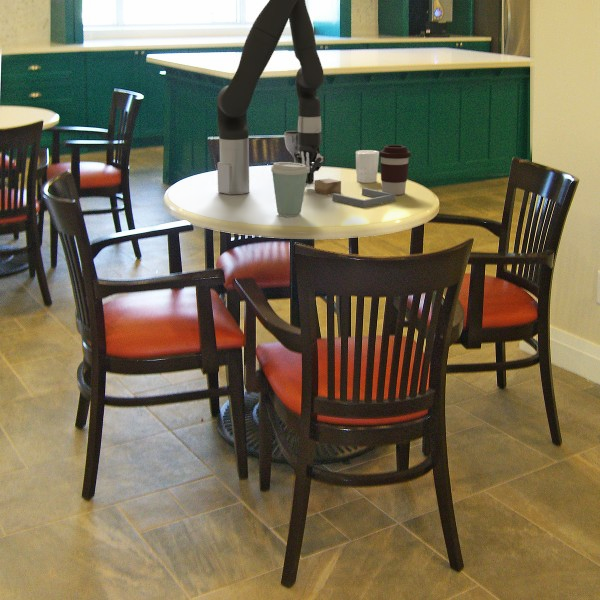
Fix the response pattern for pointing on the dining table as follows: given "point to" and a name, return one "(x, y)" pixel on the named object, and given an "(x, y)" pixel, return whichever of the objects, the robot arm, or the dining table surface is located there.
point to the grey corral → (380, 198)
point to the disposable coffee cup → (289, 187)
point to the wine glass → (292, 142)
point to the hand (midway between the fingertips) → (309, 183)
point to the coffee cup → (394, 168)
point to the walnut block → (327, 186)
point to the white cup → (367, 165)
